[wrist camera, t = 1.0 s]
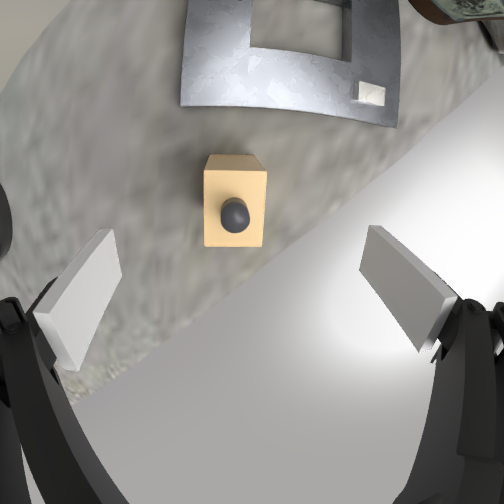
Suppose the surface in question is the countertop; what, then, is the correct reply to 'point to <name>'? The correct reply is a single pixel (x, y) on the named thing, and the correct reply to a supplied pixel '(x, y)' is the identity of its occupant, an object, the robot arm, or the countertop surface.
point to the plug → (234, 201)
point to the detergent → (496, 34)
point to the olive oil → (459, 10)
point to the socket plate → (294, 64)
